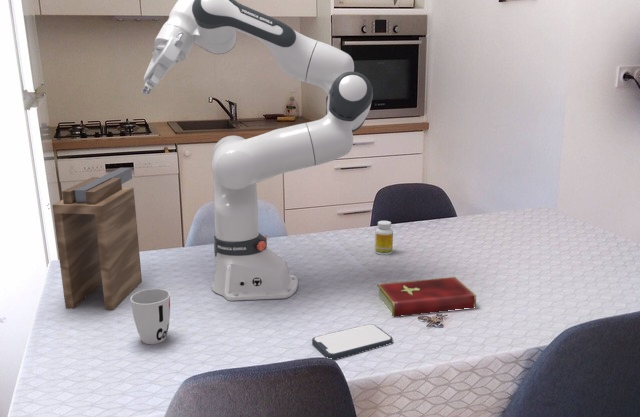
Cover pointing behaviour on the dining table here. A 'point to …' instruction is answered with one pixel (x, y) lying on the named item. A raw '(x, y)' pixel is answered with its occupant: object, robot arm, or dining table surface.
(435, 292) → the hardcover book
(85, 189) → the bar
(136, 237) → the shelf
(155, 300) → the cup
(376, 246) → the supplement bottle
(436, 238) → the dining table surface
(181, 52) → the robot arm
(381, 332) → the smartphone
